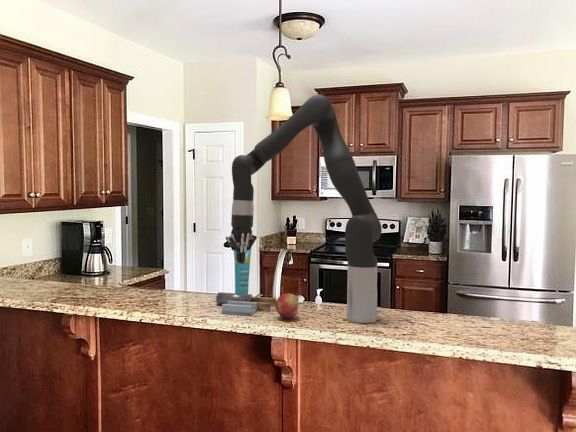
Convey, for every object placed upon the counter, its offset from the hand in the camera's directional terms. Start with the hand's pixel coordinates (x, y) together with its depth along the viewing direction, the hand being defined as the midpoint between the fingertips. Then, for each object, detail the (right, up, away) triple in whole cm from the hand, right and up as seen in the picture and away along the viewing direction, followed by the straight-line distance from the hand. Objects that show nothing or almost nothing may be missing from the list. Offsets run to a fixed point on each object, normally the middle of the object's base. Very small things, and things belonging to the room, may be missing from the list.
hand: (240, 262), depth 164 cm
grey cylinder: (-2, -13, +2) cm, 14 cm away
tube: (-1, -15, +19) cm, 24 cm away
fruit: (+16, -16, -15) cm, 27 cm away
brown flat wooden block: (+5, -16, 0) cm, 16 cm away
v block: (+1, -16, -8) cm, 18 cm away
